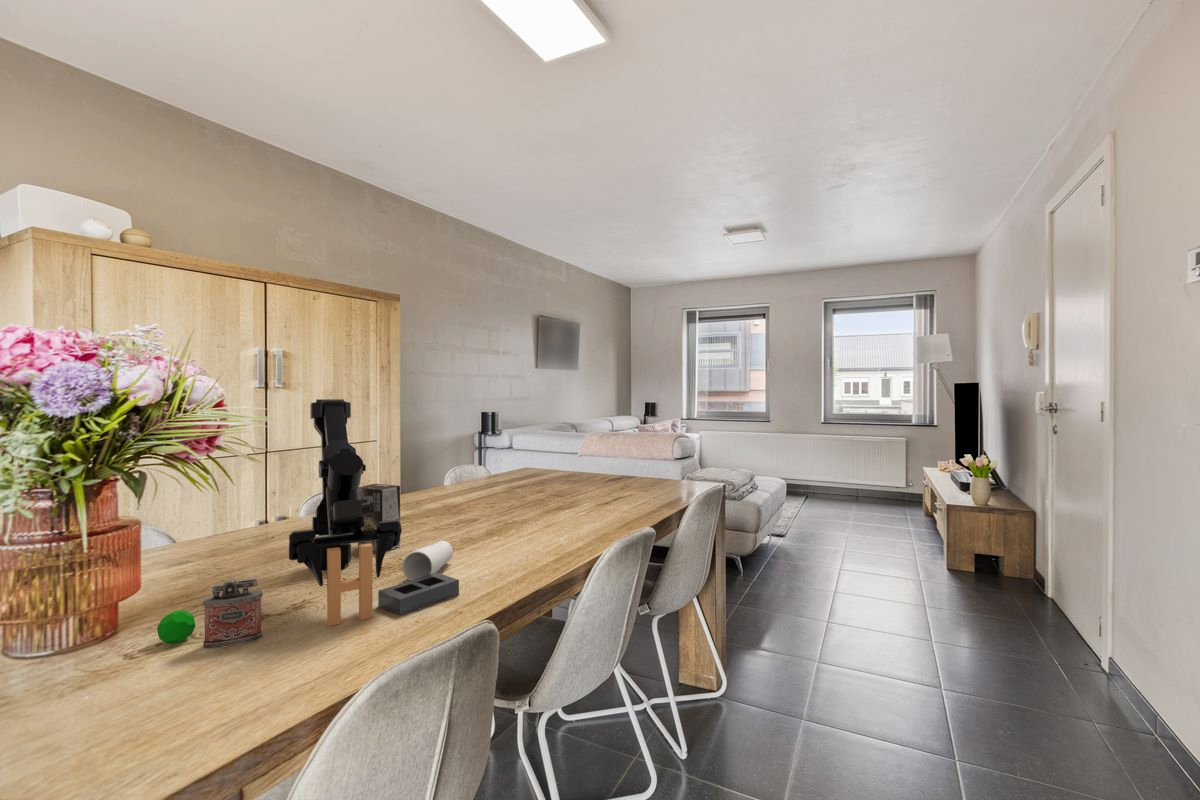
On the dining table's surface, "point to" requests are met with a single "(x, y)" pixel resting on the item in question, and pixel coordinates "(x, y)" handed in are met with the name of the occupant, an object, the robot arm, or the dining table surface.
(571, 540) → the dining table surface
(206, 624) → the lighter
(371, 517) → the coffee box
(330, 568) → the orange letter h block
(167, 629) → the polyhedron
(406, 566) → the drinking glass
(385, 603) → the grey slotted base block
